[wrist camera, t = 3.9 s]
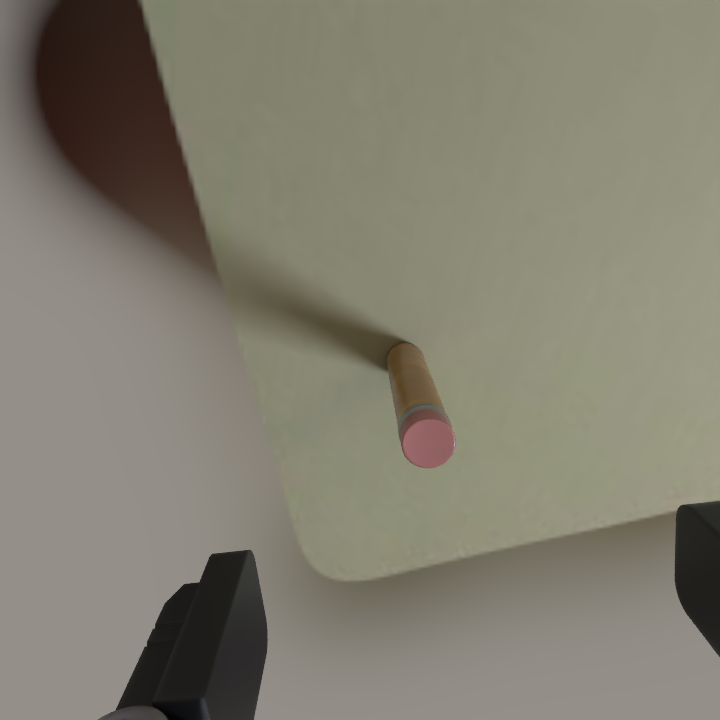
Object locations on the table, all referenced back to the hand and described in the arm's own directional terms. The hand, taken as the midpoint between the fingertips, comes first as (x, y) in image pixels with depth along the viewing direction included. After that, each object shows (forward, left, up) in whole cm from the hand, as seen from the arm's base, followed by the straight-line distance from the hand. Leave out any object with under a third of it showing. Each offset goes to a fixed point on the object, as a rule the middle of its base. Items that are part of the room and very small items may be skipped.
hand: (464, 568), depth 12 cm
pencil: (0, 0, -16) cm, 16 cm away
